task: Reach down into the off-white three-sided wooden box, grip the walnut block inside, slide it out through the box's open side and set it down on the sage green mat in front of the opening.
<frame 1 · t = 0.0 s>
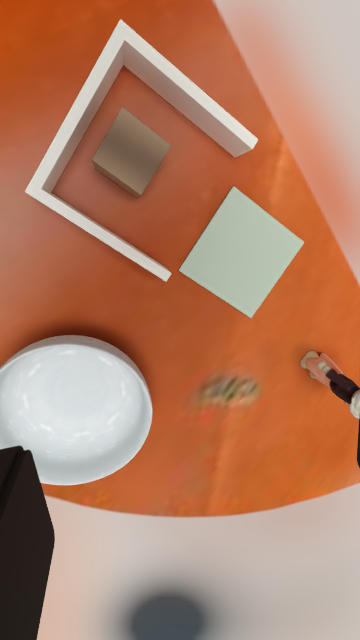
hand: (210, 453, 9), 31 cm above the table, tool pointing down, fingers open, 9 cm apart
grandmother figurine: (310, 361, 47), on the table
cereal bowl: (77, 386, 42), on the table
open side box: (145, 174, 36), on the table
sage mat: (241, 255, 40), on the table
walnut block: (129, 162, 36), resting in open side box
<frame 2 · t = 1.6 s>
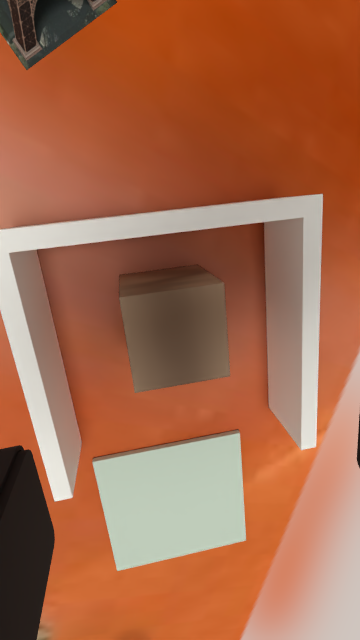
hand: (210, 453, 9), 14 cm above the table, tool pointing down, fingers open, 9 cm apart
open side box: (167, 335, 23), on the table
sage mat: (175, 500, 27), on the table
walnut block: (163, 307, 22), resting in open side box
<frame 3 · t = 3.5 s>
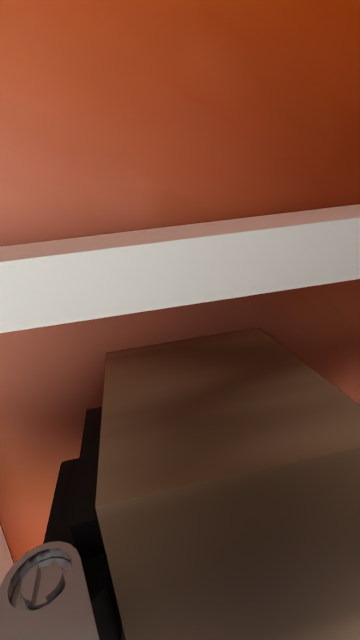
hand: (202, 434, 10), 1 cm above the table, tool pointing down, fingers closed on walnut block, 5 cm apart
open side box: (197, 456, 12), on the table
walnut block: (192, 407, 12), resting in open side box, touching gripper
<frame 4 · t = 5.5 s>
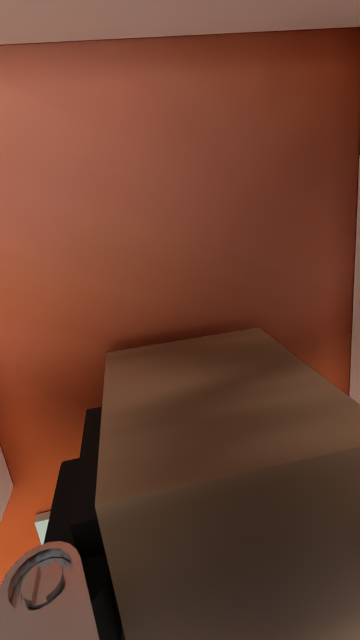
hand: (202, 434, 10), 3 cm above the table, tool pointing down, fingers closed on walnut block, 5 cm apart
open side box: (171, 279, 12), on the table
sage mat: (187, 577, 16), on the table
walnut block: (192, 407, 12), point 1 cm above the table, touching gripper
when the fingers open (3 cm above the table, at t = 7.6 s): walnut block stays where it is, resting on sage mat.
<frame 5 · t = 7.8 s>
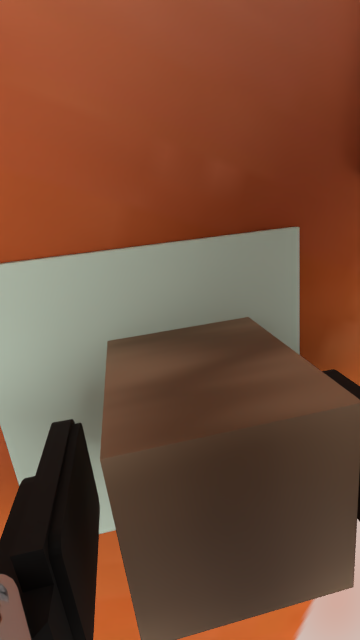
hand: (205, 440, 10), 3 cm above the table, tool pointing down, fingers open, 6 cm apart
sage mat: (158, 394, 13), on the table
walnut block: (187, 392, 13), resting on sage mat
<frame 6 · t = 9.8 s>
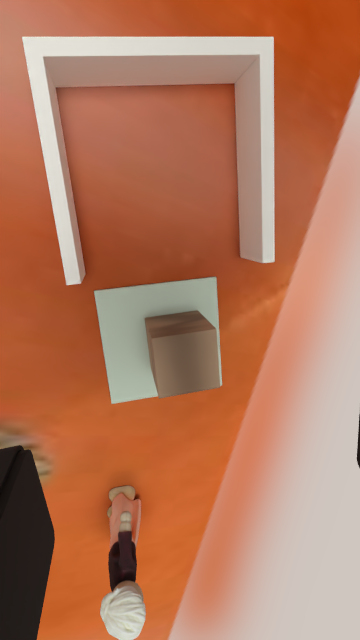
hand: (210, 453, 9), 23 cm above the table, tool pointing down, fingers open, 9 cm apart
grandmother figurine: (122, 497, 36), on the table
open side box: (157, 181, 29), on the table
sage mat: (162, 340, 32), on the table
walnut block: (174, 339, 32), resting on sage mat
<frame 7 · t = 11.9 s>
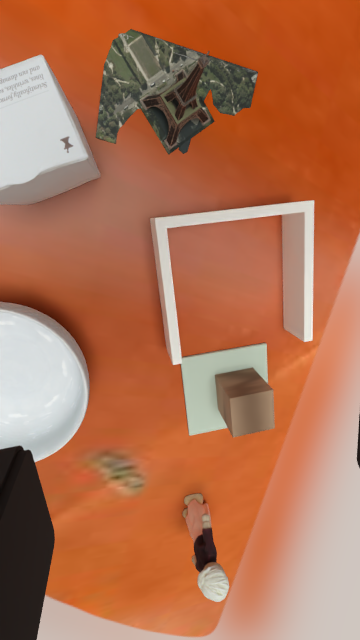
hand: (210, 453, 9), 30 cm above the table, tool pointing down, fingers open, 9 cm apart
grandmother figurine: (193, 502, 49), on the table
skincare box: (50, 165, 34), on the table
cereal bowl: (16, 363, 39), on the table
open side box: (226, 281, 40), on the table
eiffel tower figurine: (177, 108, 35), on the table
sage mat: (226, 389, 44), on the table
walnut block: (235, 388, 44), resting on sage mat
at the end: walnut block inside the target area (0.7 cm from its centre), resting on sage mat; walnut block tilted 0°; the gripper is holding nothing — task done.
